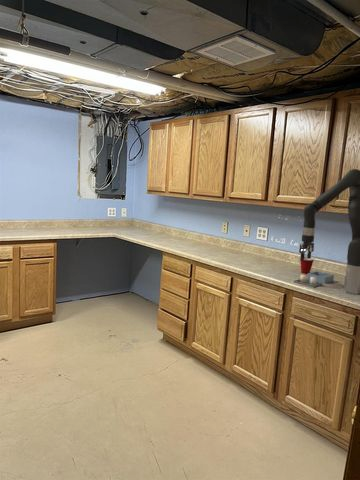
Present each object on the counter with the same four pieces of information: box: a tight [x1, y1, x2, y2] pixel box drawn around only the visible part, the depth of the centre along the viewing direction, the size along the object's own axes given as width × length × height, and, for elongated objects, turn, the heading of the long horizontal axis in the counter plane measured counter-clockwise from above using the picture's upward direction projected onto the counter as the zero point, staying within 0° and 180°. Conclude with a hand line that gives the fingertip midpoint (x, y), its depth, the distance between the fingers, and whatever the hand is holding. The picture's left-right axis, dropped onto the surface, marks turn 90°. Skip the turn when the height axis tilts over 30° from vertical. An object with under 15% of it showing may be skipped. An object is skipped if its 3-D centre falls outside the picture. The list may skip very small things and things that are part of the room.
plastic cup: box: [299, 255, 316, 275], centre depth 269 cm, size 11×11×12 cm
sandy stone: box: [299, 273, 308, 283], centre depth 241 cm, size 4×4×5 cm
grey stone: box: [310, 277, 317, 285], centre depth 236 cm, size 4×4×5 cm
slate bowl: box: [307, 270, 335, 284], centre depth 250 cm, size 13×13×4 cm
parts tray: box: [293, 278, 324, 289], centre depth 239 cm, size 14×12×2 cm
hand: (305, 258), depth 240 cm, fingers open, 8 cm apart
